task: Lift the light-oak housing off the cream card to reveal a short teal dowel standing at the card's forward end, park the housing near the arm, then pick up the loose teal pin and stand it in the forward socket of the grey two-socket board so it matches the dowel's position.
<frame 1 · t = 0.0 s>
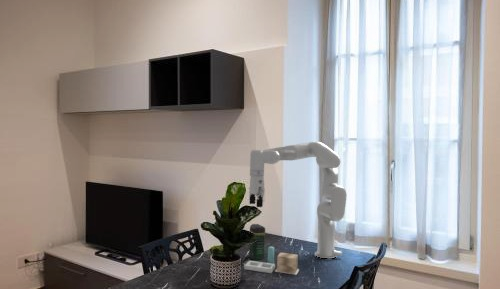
hand: (255, 205, 186), 31 cm above the table, tool pointing down, fingers open, 9 cm apart
coffee jar: (256, 258, 196), on the table
socket board: (259, 269, 177), on the table
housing: (287, 270, 176), point 1 cm above the table, touching layout card
layout card: (287, 271, 176), on the table
pin: (270, 264, 186), on the table
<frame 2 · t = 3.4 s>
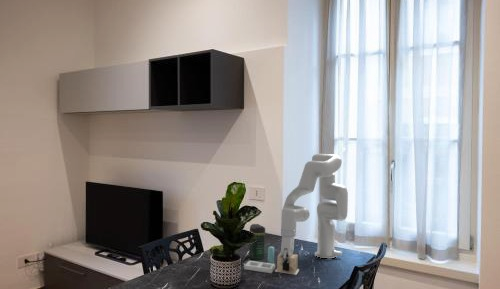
hand: (287, 267, 176), 2 cm above the table, tool pointing down, fingers closed on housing, 6 cm apart
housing: (287, 270, 176), point 1 cm above the table, touching gripper, layout card
everything else where it was.
when the fingers open (3 cm above the table, at t = 8.5 s): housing drops 1 cm, on the table.
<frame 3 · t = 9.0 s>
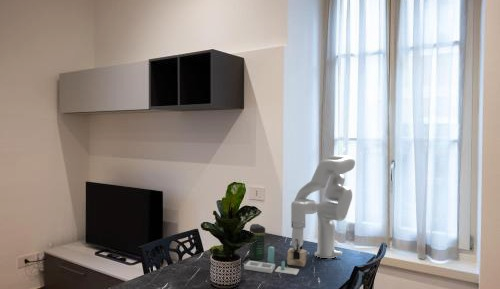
hand: (298, 256, 187), 4 cm above the table, tool pointing down, fingers open, 9 cm apart
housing: (296, 264, 187), on the table
everything else where it was.
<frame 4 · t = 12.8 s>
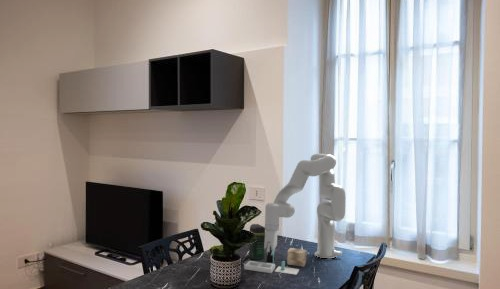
hand: (270, 260, 186), 2 cm above the table, tool pointing down, fingers closed on pin, 3 cm apart
pin: (270, 264, 186), on the table, touching gripper
everything else where it was.
when the fingers open (3 cm above the table, at t = 18.3 s): pin stays where it is, resting in socket board.
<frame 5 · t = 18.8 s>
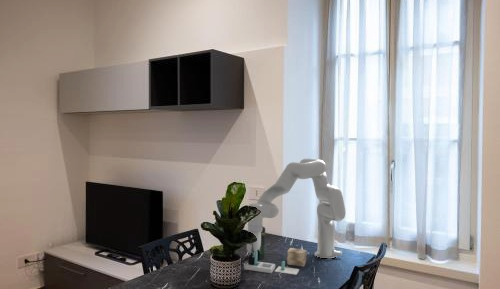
hand: (254, 261, 179), 4 cm above the table, tool pointing down, fingers open, 8 cm apart
pin: (253, 268, 179), resting in socket board
everything else where it was.
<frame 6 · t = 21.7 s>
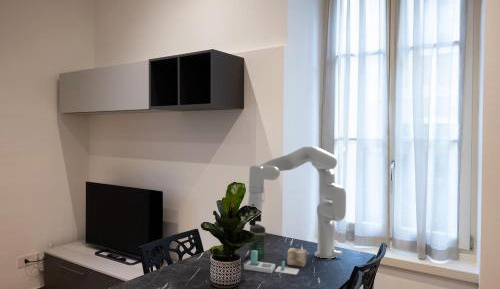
hand: (255, 223, 179), 23 cm above the table, tool pointing down, fingers open, 9 cm apart
nothing on the table moved.
at the end: pin 0.0 cm from the target spot on the socket board, point 0.0 cm above the socket board's base; pin tilted 0°; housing moved 12.3 cm from its start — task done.
